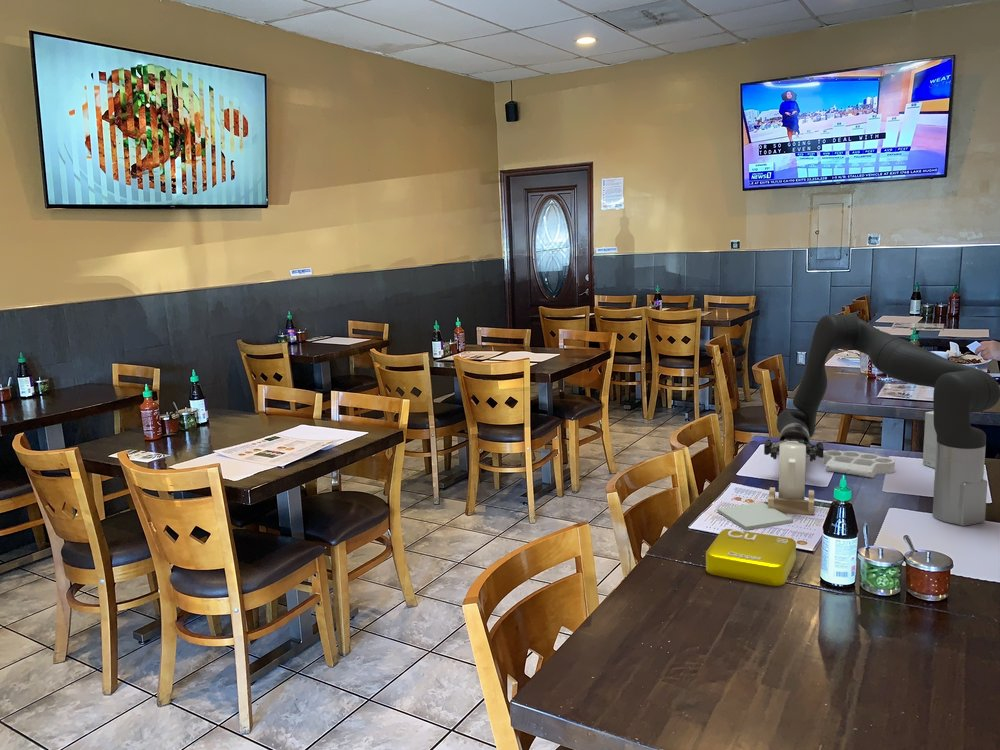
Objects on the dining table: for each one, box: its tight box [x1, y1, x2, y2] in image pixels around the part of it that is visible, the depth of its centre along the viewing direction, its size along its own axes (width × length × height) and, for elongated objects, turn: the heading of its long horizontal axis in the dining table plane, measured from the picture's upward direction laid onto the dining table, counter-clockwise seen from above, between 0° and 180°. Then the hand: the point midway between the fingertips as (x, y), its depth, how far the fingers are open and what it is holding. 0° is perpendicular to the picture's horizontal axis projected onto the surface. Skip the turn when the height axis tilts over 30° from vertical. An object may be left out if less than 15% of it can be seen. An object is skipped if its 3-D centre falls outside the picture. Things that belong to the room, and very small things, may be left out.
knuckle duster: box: [823, 449, 896, 479], centre depth 204 cm, size 3×18×15 cm
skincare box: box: [922, 410, 937, 469], centre depth 201 cm, size 8×6×15 cm
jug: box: [778, 441, 807, 500], centre depth 178 cm, size 10×6×15 cm, turn 158°
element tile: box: [705, 528, 797, 587], centre depth 150 cm, size 15×15×5 cm
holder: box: [767, 486, 815, 516], centre depth 179 cm, size 9×10×3 cm
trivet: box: [717, 501, 794, 531], centre depth 174 cm, size 12×12×1 cm
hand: (793, 456), depth 188 cm, fingers open, 8 cm apart
